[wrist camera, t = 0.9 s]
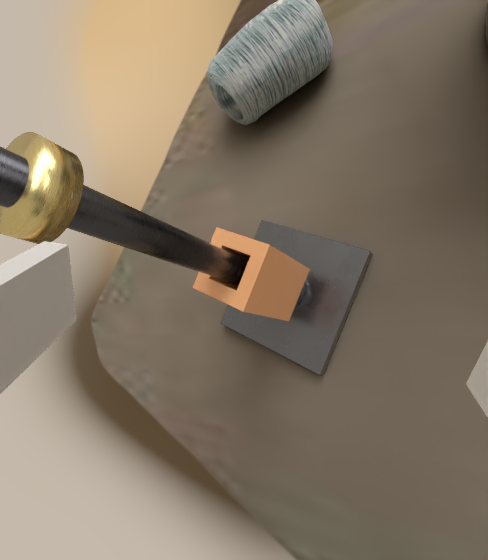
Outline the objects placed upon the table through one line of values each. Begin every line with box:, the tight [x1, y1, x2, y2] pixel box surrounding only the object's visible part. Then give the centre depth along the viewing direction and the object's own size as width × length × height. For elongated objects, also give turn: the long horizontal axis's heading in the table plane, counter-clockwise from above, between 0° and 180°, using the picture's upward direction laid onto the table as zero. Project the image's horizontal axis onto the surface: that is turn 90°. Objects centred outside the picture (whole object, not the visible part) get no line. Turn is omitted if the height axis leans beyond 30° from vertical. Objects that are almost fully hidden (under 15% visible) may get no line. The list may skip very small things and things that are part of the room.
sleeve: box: [193, 228, 310, 321], centre depth 29 cm, size 5×5×8 cm
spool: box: [207, 0, 333, 125], centre depth 38 cm, size 14×10×10 cm
